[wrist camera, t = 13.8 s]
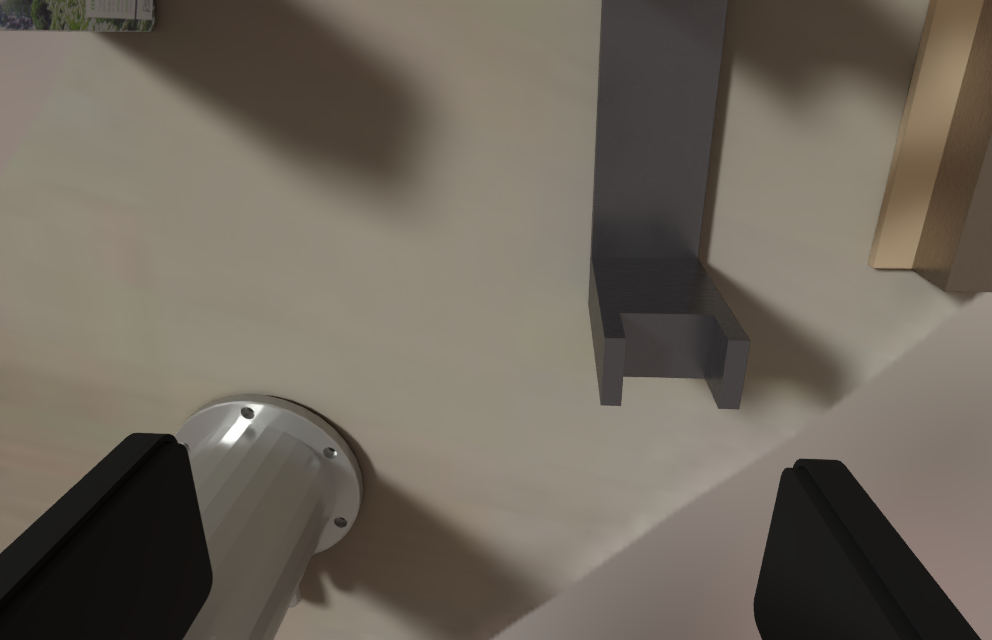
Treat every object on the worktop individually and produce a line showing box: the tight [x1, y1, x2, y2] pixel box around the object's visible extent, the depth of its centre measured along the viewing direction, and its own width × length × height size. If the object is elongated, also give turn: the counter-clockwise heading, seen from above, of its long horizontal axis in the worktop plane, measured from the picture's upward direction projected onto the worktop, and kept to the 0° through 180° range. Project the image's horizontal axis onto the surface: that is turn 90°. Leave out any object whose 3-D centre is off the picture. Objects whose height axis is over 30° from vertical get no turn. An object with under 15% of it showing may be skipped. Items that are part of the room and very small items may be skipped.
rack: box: [588, 0, 750, 409], centre depth 26 cm, size 19×5×10 cm, turn 1°
